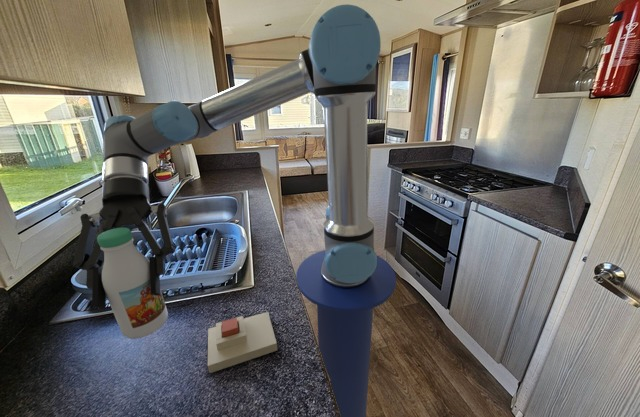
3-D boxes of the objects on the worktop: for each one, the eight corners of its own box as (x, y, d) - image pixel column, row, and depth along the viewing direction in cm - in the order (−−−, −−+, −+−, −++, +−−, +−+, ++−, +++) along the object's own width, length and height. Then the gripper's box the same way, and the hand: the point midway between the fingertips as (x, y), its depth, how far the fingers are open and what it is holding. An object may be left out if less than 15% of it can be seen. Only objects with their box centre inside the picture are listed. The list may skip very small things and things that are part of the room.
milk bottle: (117, 346, 46) (75, 248, 39) (127, 316, 53) (92, 228, 45) (166, 331, 49) (136, 237, 42) (170, 304, 56) (144, 219, 48)
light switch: (268, 318, 66) (267, 305, 65) (277, 350, 57) (276, 336, 56) (209, 335, 62) (206, 322, 60) (209, 373, 53) (205, 359, 51)
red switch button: (237, 323, 60) (236, 317, 60) (238, 333, 58) (237, 327, 57) (222, 327, 59) (221, 321, 59) (223, 338, 56) (222, 332, 56)
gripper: (186, 187, 59) (197, 288, 51) (74, 200, 53) (67, 318, 45) (178, 169, 53) (189, 282, 45) (49, 182, 46) (35, 316, 38)
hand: (128, 300), depth 45 cm, fingers closed on milk bottle, 8 cm apart
